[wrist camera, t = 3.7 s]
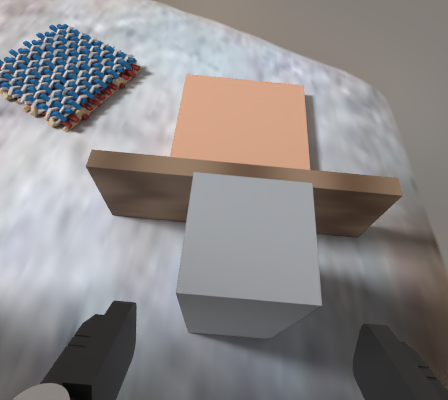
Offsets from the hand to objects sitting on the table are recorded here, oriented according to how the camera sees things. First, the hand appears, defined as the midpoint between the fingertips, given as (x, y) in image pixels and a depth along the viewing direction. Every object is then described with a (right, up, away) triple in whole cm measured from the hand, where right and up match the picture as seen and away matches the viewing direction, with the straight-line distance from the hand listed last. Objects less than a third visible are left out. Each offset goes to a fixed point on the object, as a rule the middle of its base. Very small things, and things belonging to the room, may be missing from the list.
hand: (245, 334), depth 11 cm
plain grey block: (0, -1, +9) cm, 10 cm away
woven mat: (-16, +16, +19) cm, 29 cm away
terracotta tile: (+1, +11, +16) cm, 20 cm away
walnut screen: (0, +3, +12) cm, 13 cm away
